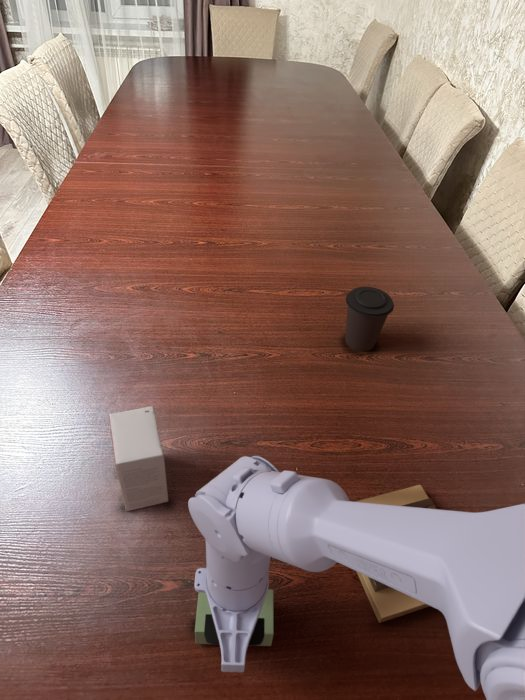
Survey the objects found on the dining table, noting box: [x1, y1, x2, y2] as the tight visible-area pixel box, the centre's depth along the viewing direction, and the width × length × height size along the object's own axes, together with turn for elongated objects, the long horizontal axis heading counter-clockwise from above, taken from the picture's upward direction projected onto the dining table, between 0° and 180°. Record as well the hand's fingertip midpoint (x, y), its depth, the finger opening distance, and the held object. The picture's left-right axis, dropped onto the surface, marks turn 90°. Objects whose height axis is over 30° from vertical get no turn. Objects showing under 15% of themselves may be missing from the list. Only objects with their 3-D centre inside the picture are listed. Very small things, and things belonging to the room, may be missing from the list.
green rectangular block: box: [194, 588, 274, 647], centre depth 56 cm, size 4×8×4 cm, turn 89°
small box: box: [108, 405, 169, 512], centre depth 66 cm, size 8×6×10 cm
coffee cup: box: [344, 286, 395, 352], centre depth 90 cm, size 8×8×10 cm
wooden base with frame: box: [354, 484, 438, 624], centre depth 64 cm, size 14×13×3 cm
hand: (234, 617), depth 56 cm, fingers closed on green rectangular block, 4 cm apart
